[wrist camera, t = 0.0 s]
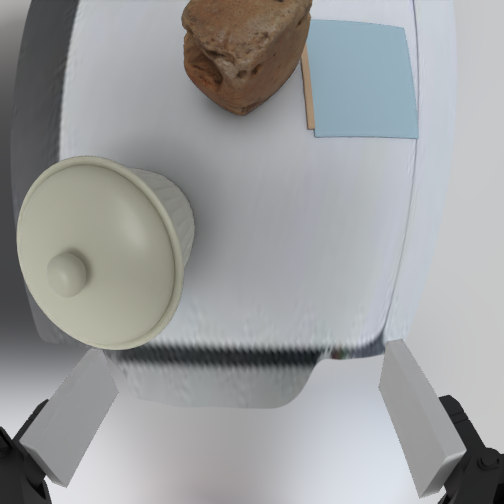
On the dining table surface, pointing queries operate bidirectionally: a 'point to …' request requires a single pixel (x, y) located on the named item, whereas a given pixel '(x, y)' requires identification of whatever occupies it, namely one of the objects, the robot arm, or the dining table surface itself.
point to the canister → (105, 250)
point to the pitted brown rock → (243, 48)
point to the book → (358, 81)
